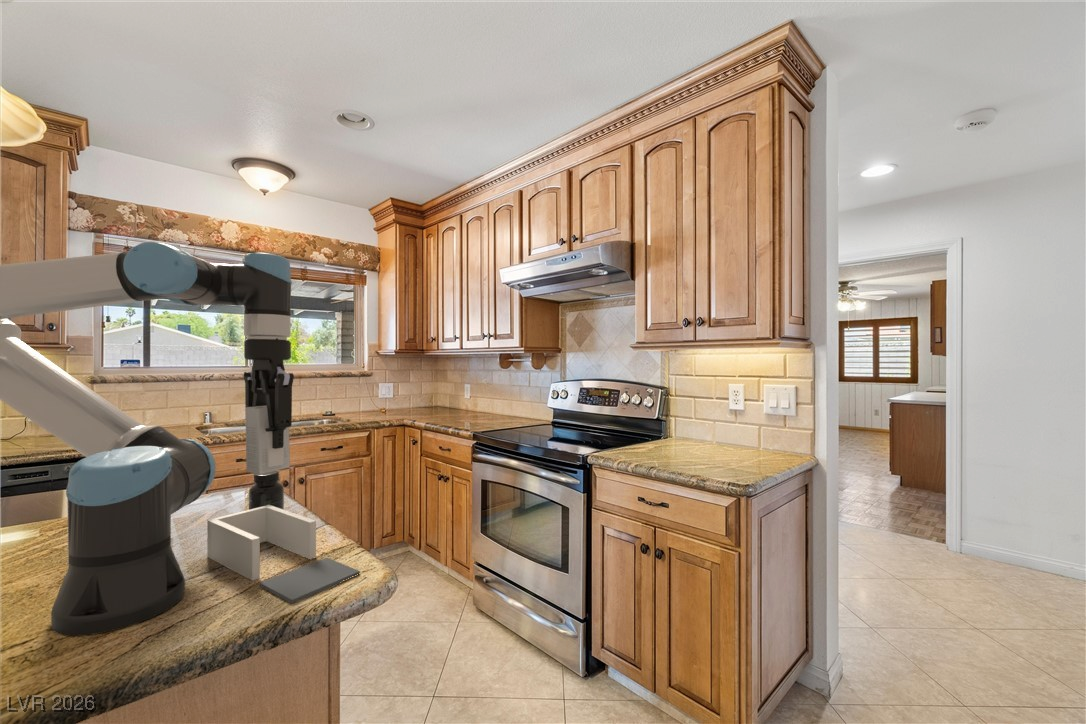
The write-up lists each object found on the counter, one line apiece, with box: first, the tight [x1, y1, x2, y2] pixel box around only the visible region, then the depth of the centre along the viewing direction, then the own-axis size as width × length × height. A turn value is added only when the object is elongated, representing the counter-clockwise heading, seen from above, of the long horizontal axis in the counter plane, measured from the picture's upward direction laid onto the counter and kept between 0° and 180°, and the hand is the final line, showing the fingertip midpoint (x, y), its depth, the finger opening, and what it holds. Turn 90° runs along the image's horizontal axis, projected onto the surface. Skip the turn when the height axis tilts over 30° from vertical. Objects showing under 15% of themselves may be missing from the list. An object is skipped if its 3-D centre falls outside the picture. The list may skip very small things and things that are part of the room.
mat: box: [258, 557, 361, 604], centre depth 82 cm, size 12×10×1 cm
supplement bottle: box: [248, 470, 285, 510], centre depth 107 cm, size 7×7×12 cm
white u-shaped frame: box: [206, 505, 317, 581], centre depth 91 cm, size 11×17×7 cm, turn 56°
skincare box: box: [244, 405, 291, 475], centre depth 89 cm, size 6×4×12 cm
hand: (267, 463), depth 89 cm, fingers closed on skincare box, 4 cm apart
